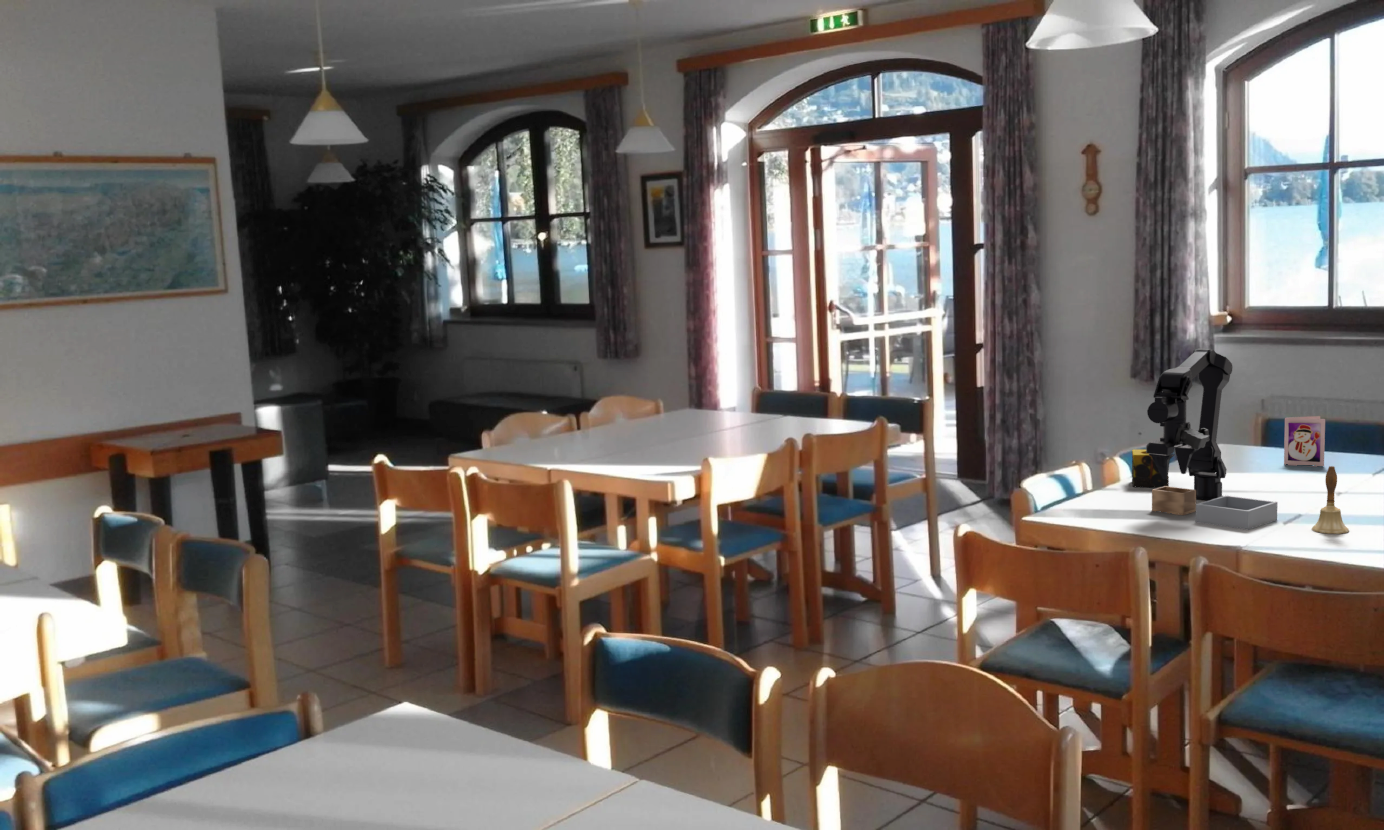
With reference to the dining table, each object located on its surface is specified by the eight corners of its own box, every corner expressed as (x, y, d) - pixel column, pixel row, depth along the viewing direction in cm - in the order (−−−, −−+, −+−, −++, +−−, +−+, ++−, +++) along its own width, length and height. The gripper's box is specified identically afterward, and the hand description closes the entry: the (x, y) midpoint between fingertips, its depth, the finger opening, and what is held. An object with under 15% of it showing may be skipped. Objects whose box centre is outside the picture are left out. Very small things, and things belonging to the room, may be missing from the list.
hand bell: (1304, 527, 324) (1306, 464, 322) (1336, 526, 325) (1338, 463, 323) (1323, 535, 316) (1325, 470, 314) (1356, 533, 317) (1358, 468, 315)
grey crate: (1195, 523, 335) (1195, 504, 335) (1225, 513, 345) (1225, 495, 344) (1248, 530, 325) (1248, 511, 324) (1277, 521, 334) (1277, 502, 333)
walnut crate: (1151, 511, 350) (1152, 489, 350) (1164, 507, 355) (1165, 485, 354) (1182, 515, 344) (1183, 493, 343) (1195, 511, 348) (1196, 489, 347)
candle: (1167, 482, 390) (1167, 449, 389) (1169, 488, 380) (1169, 454, 379) (1131, 481, 393) (1131, 448, 391) (1132, 487, 383) (1132, 454, 382)
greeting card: (1283, 465, 409) (1284, 418, 407) (1286, 461, 415) (1287, 414, 414) (1323, 467, 403) (1324, 419, 401) (1326, 463, 409) (1327, 416, 408)
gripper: (1184, 425, 334) (1183, 485, 336) (1221, 416, 346) (1220, 474, 348) (1145, 421, 342) (1144, 480, 344) (1182, 413, 354) (1182, 470, 356)
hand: (1174, 476), depth 348 cm, fingers open, 9 cm apart
